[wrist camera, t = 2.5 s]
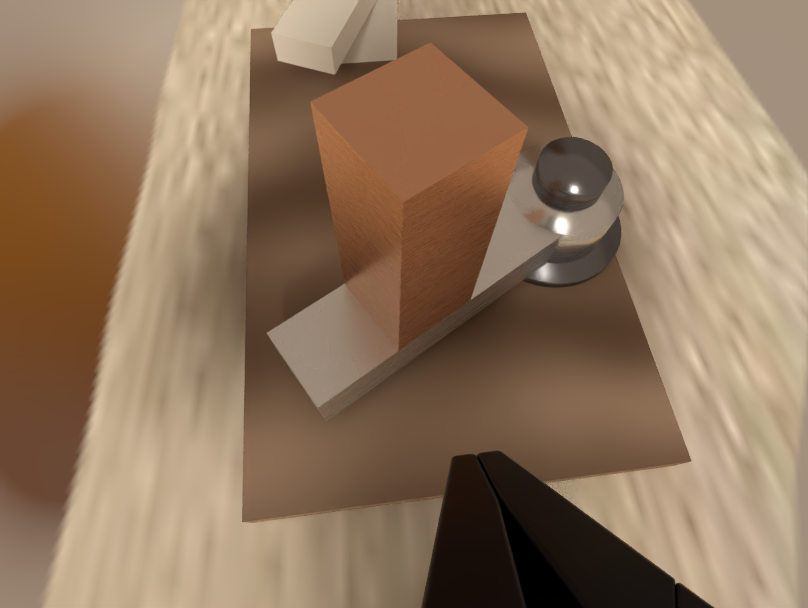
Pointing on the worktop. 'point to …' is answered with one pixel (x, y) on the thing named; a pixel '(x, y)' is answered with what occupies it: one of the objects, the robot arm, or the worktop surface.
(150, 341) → the worktop surface
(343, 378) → the lever link
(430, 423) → the walnut board
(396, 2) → the block
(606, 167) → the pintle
